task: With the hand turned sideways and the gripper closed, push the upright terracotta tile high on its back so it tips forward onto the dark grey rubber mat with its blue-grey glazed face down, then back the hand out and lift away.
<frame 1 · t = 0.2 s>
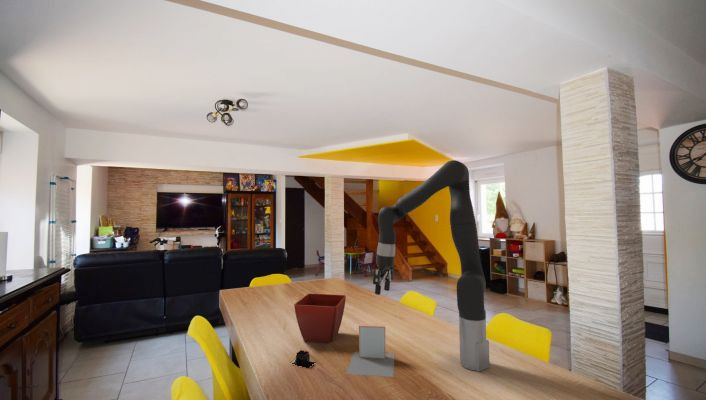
hand: (382, 292, 136), 22 cm above the table, tool pointing down, fingers open, 8 cm apart
mat: (372, 364, 118), on the table
black blocky piece: (302, 365, 120), on the table
plant pot: (321, 337, 145), on the table
tile: (372, 357, 123), point 1 cm above the table, touching mat
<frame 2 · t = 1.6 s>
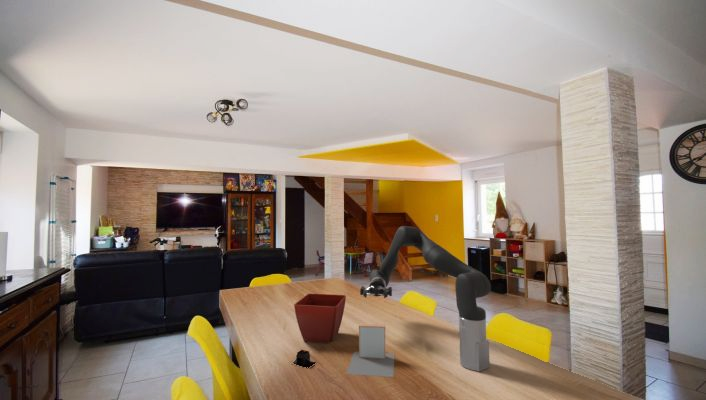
hand: (375, 295, 137), 20 cm above the table, tool horizontal, fingers open, 8 cm apart
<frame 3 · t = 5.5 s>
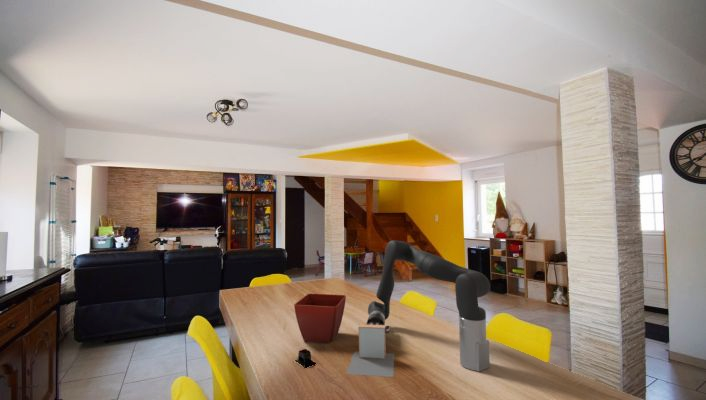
hand: (372, 336, 124), 8 cm above the table, tool horizontal, fingers closed
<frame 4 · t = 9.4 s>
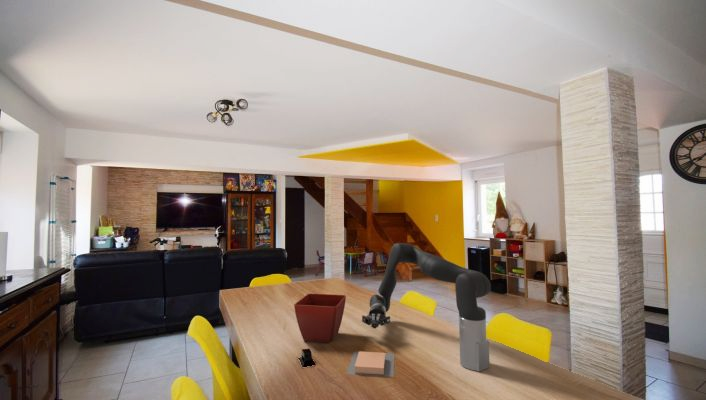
hand: (374, 326, 132), 9 cm above the table, tool horizontal, fingers closed
tile: (372, 355, 122), point 2 cm above the table, tilted 90°, touching mat
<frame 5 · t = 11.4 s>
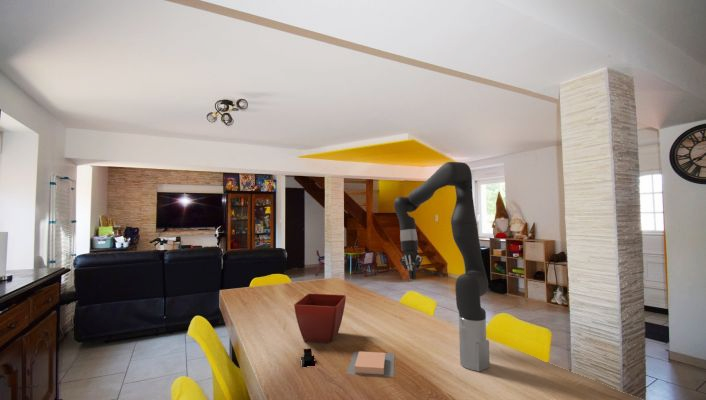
hand: (412, 279, 143), 26 cm above the table, tool pointing down, fingers closed
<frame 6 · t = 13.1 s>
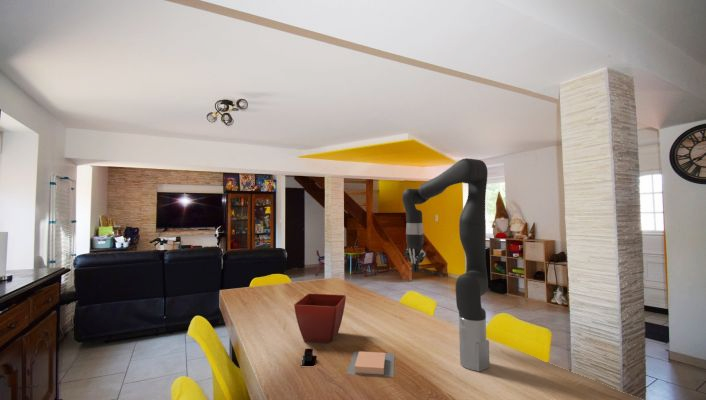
hand: (415, 272, 144), 29 cm above the table, tool pointing down, fingers closed
at the end: tile tilted 90°; tile inside the target area (0.2 cm from its centre), point 1.8 cm above the table; the gripper is holding nothing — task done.
